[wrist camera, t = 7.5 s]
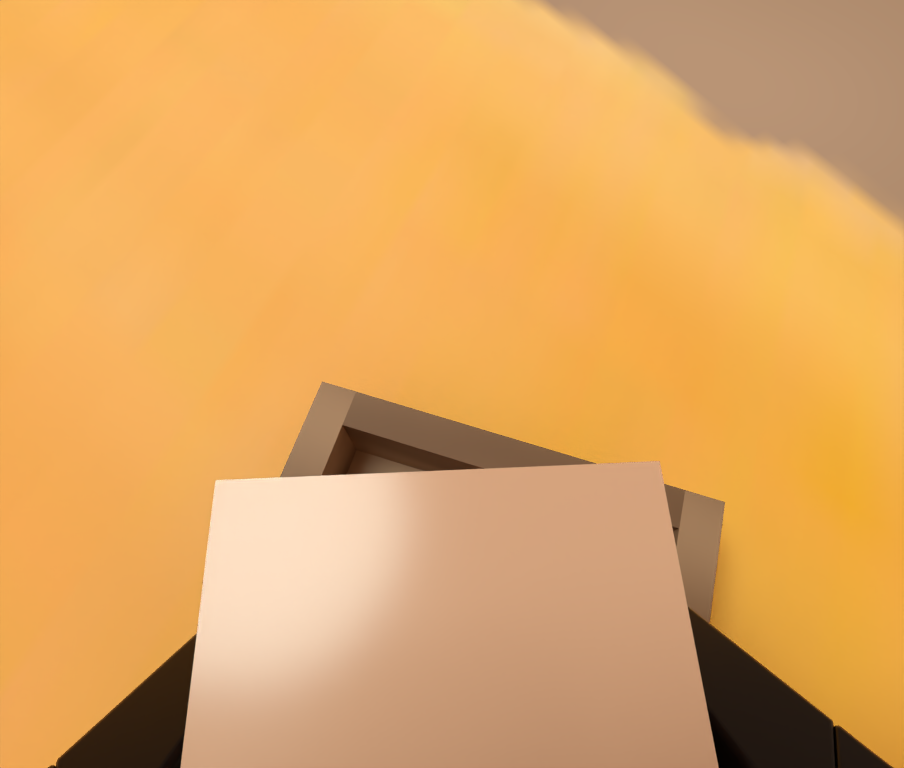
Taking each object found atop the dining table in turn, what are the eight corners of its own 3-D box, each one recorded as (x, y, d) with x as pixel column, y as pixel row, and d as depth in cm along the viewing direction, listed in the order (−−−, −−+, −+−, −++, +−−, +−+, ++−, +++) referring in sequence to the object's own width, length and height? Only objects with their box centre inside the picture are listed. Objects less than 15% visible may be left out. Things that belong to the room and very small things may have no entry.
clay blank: (551, 761, 13) (779, 1082, 4) (359, 770, 13) (137, 1118, 4) (532, 560, 15) (659, 461, 6) (362, 568, 15) (215, 480, 6)
